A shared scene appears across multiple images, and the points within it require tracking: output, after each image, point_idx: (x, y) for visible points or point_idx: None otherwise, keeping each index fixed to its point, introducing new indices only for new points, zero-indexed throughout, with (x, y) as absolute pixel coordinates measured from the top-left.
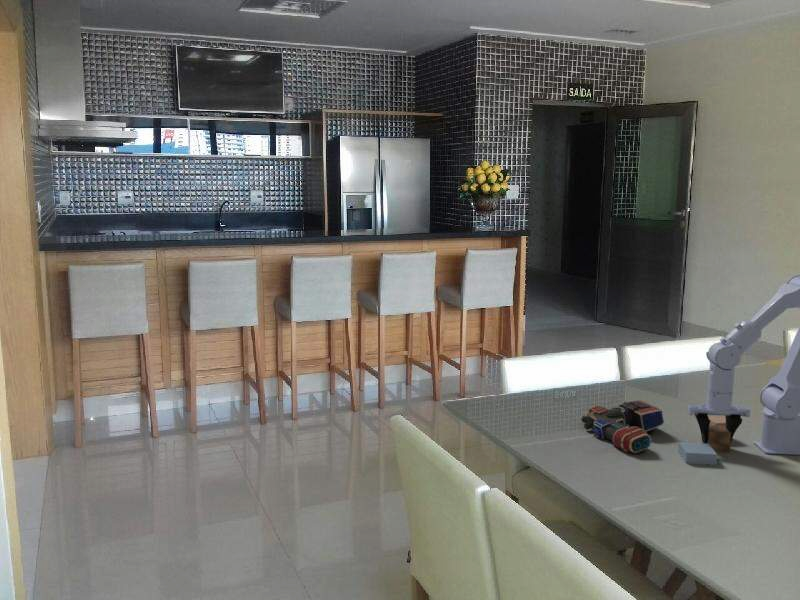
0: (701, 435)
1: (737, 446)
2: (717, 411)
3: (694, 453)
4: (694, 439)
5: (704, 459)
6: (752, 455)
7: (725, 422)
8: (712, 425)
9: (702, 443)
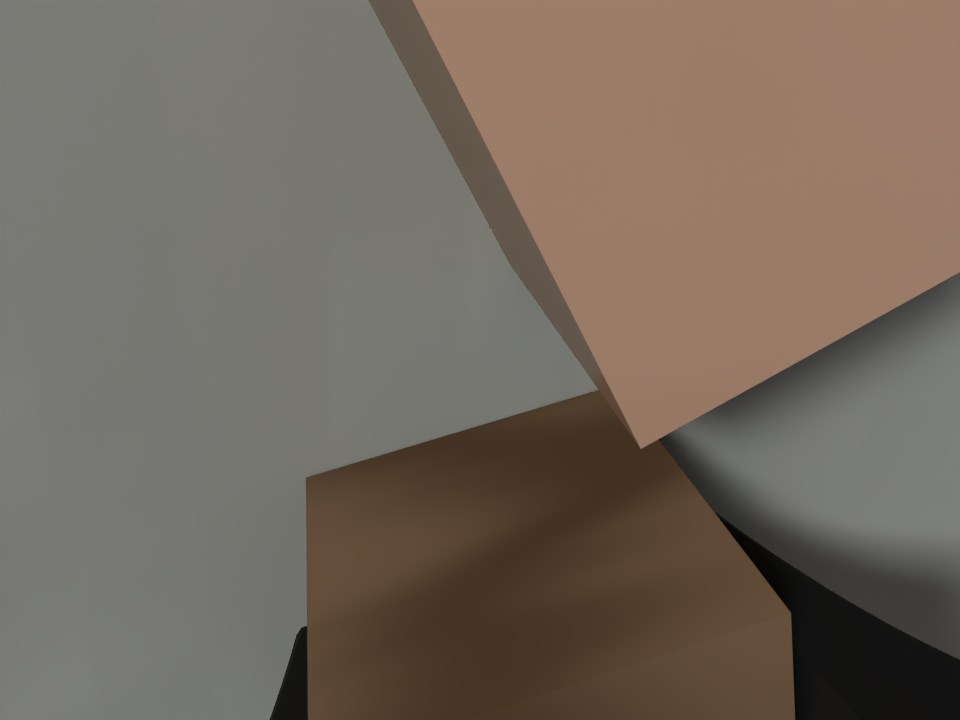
0: (279, 704)
1: (823, 356)
2: None
3: None
4: (156, 293)
5: None
6: (891, 593)
7: (947, 256)
8: (551, 300)
9: (309, 497)
